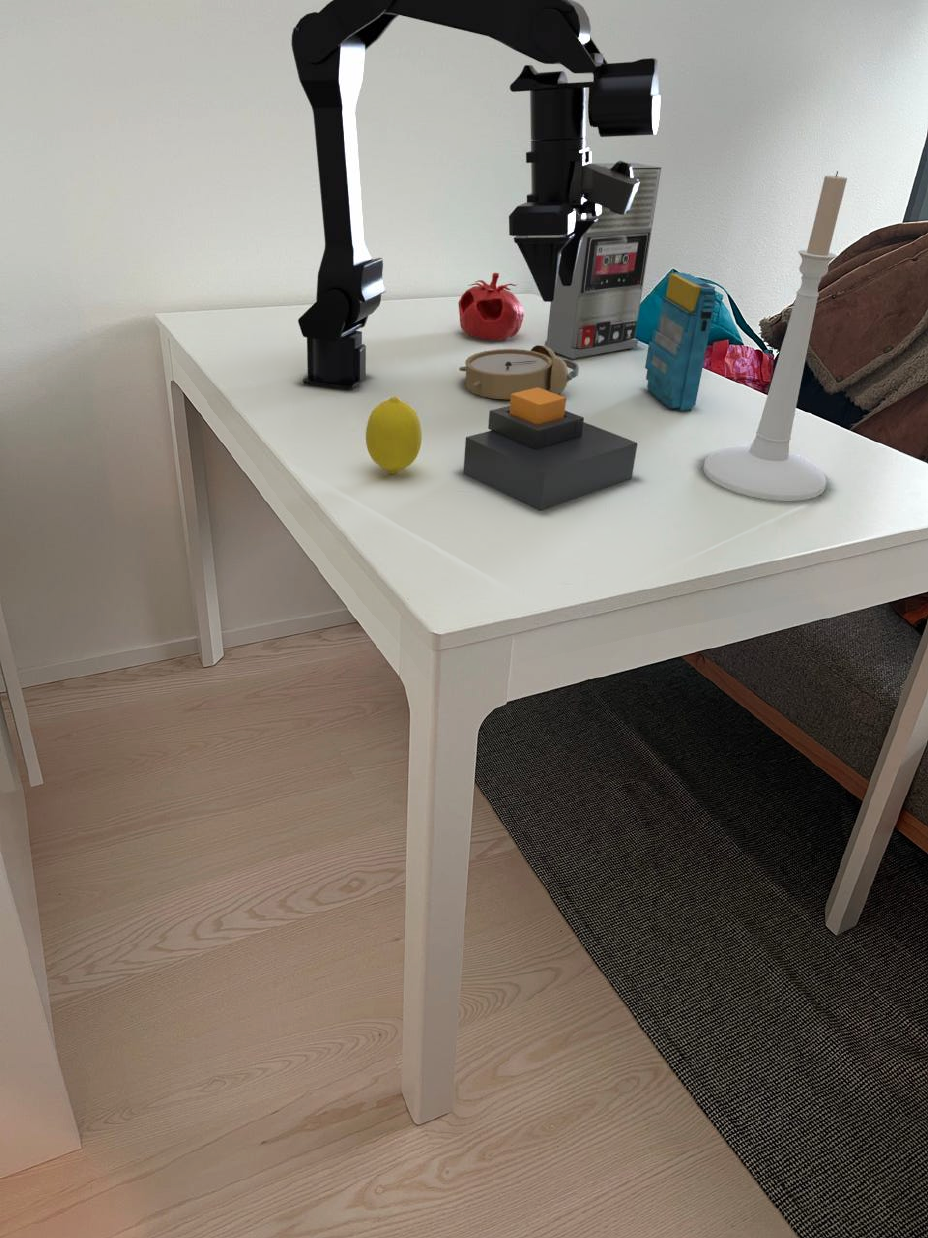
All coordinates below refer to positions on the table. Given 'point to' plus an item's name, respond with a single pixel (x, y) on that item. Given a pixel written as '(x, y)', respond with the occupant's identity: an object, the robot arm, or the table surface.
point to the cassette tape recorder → (606, 277)
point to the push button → (547, 458)
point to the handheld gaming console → (680, 342)
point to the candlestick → (785, 385)
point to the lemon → (393, 435)
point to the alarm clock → (517, 372)
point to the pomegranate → (490, 311)
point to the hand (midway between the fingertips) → (558, 293)
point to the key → (537, 405)
